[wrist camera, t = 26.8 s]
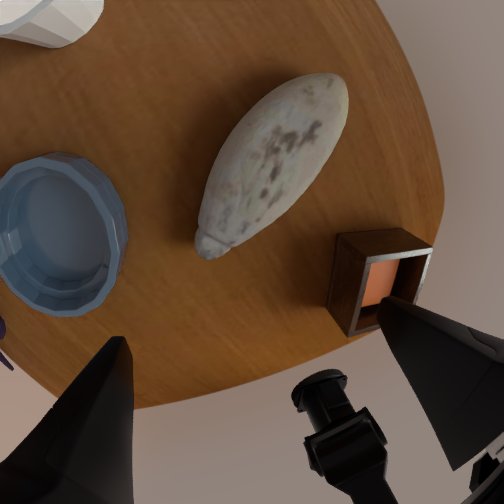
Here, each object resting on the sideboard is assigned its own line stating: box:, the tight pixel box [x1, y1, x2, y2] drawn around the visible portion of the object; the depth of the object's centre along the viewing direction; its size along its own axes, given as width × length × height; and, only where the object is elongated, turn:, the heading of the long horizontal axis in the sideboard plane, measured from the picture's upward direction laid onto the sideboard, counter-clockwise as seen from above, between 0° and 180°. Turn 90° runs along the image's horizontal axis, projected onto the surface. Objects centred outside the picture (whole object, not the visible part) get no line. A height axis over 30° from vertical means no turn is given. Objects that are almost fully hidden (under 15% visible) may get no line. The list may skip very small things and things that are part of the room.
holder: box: [326, 228, 433, 338], centre depth 22 cm, size 8×8×4 cm
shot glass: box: [0, 0, 104, 48], centre depth 6 cm, size 7×7×7 cm
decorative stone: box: [195, 73, 349, 260], centre depth 16 cm, size 6×16×3 cm, turn 145°
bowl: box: [0, 152, 129, 317], centre depth 15 cm, size 11×11×4 cm
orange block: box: [361, 259, 400, 307], centre depth 23 cm, size 5×4×2 cm
